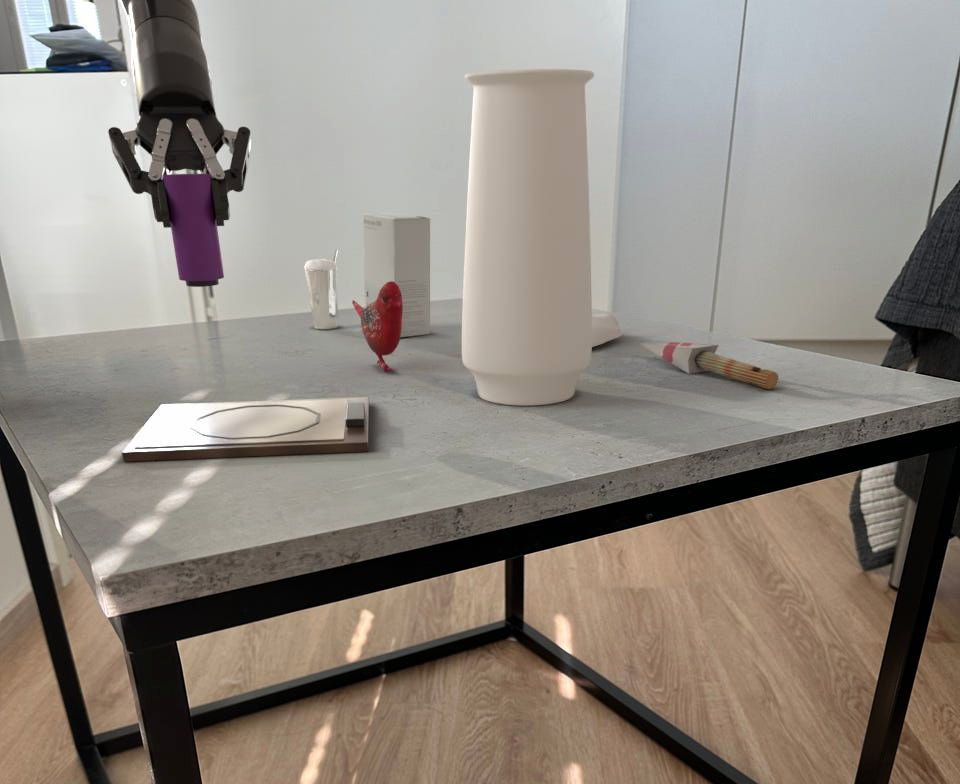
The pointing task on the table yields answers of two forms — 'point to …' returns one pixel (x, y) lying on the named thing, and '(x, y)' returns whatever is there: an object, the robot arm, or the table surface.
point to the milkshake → (323, 292)
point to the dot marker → (194, 228)
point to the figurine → (604, 328)
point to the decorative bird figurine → (382, 321)
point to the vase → (527, 236)
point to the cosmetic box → (399, 264)
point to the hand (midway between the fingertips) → (193, 220)
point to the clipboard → (252, 429)
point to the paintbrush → (710, 362)
